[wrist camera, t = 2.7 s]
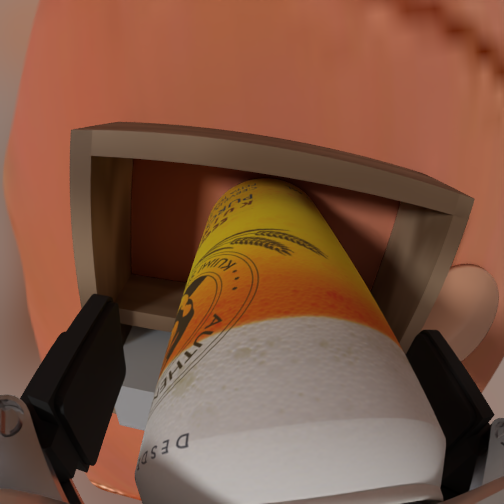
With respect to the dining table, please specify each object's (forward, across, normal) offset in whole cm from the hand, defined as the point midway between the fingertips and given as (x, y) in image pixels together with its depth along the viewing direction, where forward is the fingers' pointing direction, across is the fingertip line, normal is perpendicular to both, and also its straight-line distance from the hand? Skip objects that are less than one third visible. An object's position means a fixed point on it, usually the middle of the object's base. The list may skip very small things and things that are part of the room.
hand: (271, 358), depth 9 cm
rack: (+9, 0, +3) cm, 10 cm away
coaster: (+9, -16, +5) cm, 19 cm away
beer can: (+9, 0, -1) cm, 9 cm away
